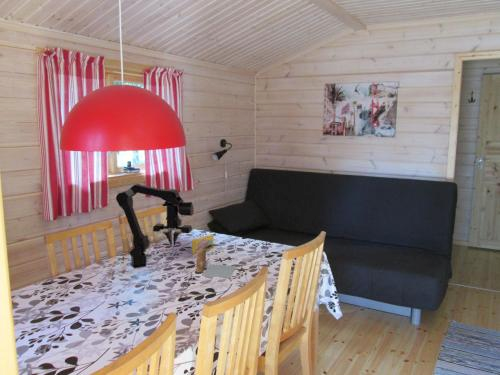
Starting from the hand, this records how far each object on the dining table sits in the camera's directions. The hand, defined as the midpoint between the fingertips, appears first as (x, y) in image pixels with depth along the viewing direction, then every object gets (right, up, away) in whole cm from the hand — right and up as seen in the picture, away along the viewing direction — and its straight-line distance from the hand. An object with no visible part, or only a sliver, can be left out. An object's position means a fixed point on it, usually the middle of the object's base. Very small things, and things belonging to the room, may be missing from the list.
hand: (172, 244), depth 218 cm
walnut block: (+14, -13, -1) cm, 19 cm away
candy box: (+12, -8, +31) cm, 34 cm away
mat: (+24, -13, -2) cm, 27 cm away
